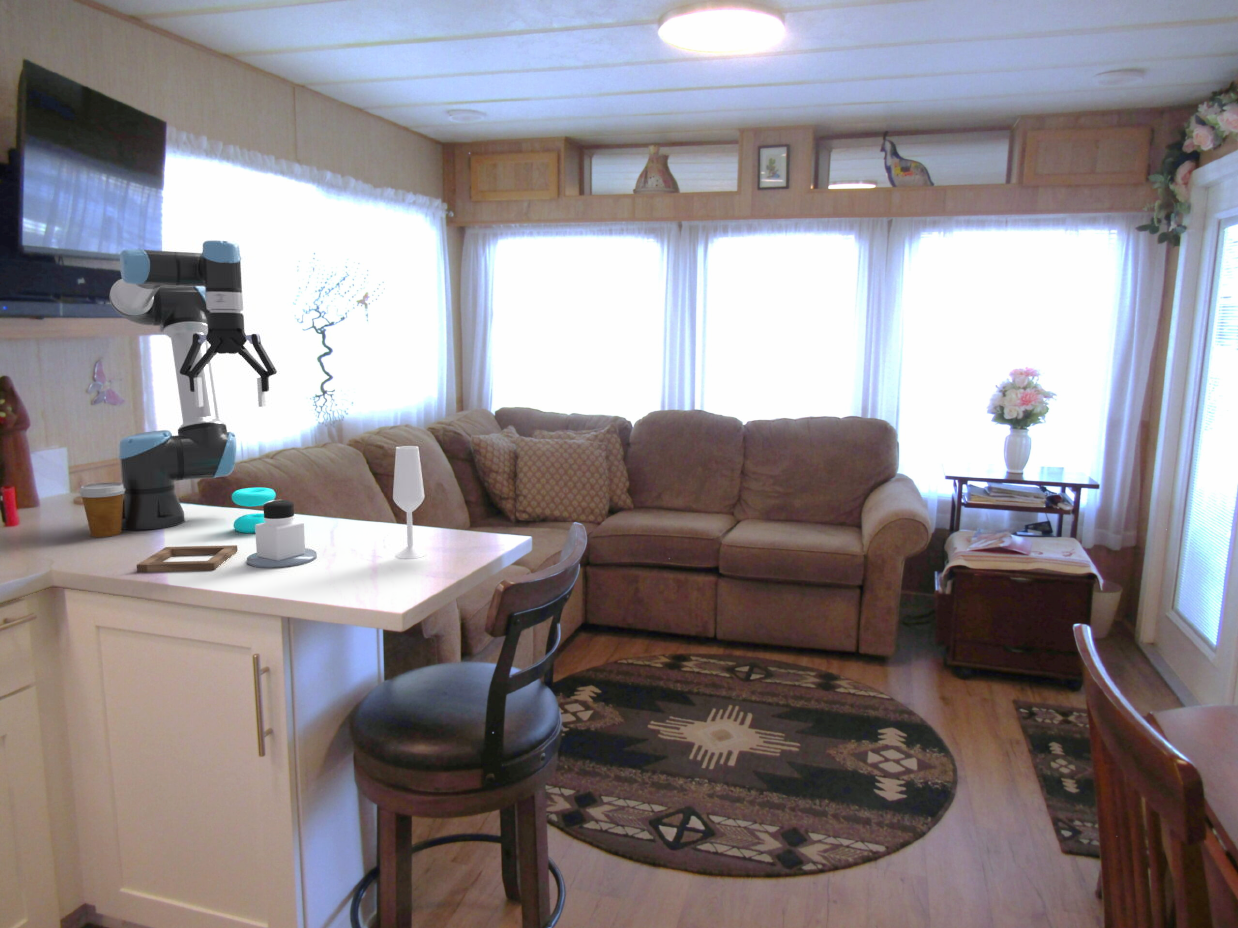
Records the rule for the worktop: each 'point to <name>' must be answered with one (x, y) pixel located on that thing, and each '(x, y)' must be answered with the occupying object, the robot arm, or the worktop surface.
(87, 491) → the disposable coffee cup
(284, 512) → the medicine bottle
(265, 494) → the donuts
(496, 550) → the worktop surface
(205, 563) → the wooden picture frame
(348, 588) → the worktop surface
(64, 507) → the worktop surface
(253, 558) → the slate plate
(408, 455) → the champagne flute
